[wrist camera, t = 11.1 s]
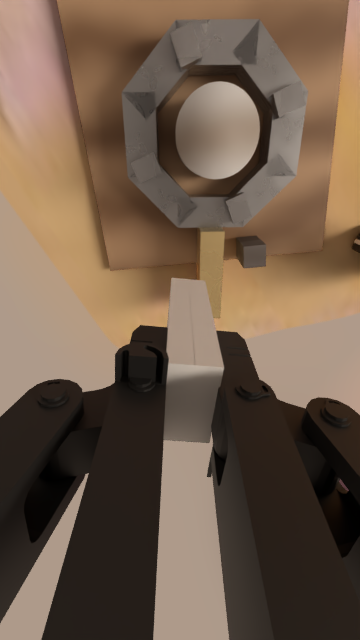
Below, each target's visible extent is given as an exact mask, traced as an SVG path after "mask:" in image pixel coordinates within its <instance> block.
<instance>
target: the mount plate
mask: <svg viewBox="0 0 360 640" xmlns="http://www.w3.org/2000/svg"><path fill="white" fill-rule="evenodd" d="M348 4H349V0H57V5H58V10H59V15H60V20H61V25H62V30H63V35H64V40H65V45H66V50H67V55H68V60H69V65H70V70H71V75H72V80H73V85H74V90H75V95H76V100H77V105H78V110H79V115H80V120H81V125H82V130H83V135H84V140H85V145H86V150H87V155H88V160H89V165H90V170H91V175H92V180H93V185H94V190H95V195H96V200H97V205H98V210H99V215H100V221H101V226H102V231H103V236H104V241H105V246H106V251H107V256H108V261H109V266H110V271H114V270H124V269H135V268H145V267H156V266H166V265H177V264H187V263H197V228H178V227H177V226H176V225H175V224H174V223H173V222H172V221H171V220H170V219H169V218H168V217H167V216H166V215H165V214H164V213H163V212H162V211H161V210H160V209H159V208H158V207H157V206H156V205H155V204H154V203H153V202H152V201H151V200H150V199H149V198H148V197H147V196H146V195H145V194H144V193H143V192H142V191H141V190H140V189H139V188H138V187H137V186H136V185H135V184H134V183H133V182H132V181H131V180H130V179H129V178H128V173H127V159H126V146H125V132H124V119H123V105H122V91H123V90H124V88H125V87H126V86H127V84H128V83H129V82H130V80H131V79H132V78H133V76H134V75H135V74H136V72H137V71H138V70H139V68H140V67H141V66H142V64H143V63H144V62H145V60H146V59H147V57H148V56H149V55H150V53H151V52H152V51H153V49H154V48H155V47H156V45H157V44H158V43H159V41H160V40H161V39H162V37H163V36H164V35H165V33H166V32H167V31H168V29H169V28H170V27H171V25H172V24H173V23H174V21H175V20H203V19H260V21H261V22H262V24H263V25H264V27H265V28H266V29H267V31H268V32H269V34H270V35H271V37H272V38H273V40H274V41H275V43H276V44H277V46H278V47H279V49H280V50H281V52H282V53H283V54H284V56H285V57H286V59H287V60H288V62H289V63H290V65H291V66H292V68H293V69H294V71H295V72H296V74H297V75H298V77H299V78H300V79H301V81H302V82H303V84H304V85H305V87H306V88H307V90H308V97H307V104H306V111H305V118H304V125H303V132H302V139H301V146H300V153H299V160H298V167H297V174H296V177H295V178H294V179H293V180H292V181H291V182H290V183H288V184H287V185H286V186H285V187H284V188H283V189H282V190H281V191H280V192H279V193H278V194H277V195H276V196H275V197H274V198H273V199H272V200H271V201H270V202H269V203H268V204H267V205H266V206H265V207H263V208H262V209H261V210H260V211H259V212H258V213H257V214H256V215H255V216H254V217H253V218H252V219H251V220H250V221H249V222H248V223H247V224H246V225H245V226H244V227H222V228H223V230H224V231H225V237H224V255H223V260H229V259H238V260H239V262H240V263H241V265H242V266H243V268H253V267H263V266H266V256H271V255H282V254H292V253H303V252H313V251H322V248H323V239H324V229H325V220H326V211H327V201H328V192H329V183H330V173H331V164H332V154H333V145H334V136H335V126H336V117H337V107H338V98H339V89H340V79H341V70H342V60H343V51H344V42H345V32H346V23H347V14H348ZM263 115H264V113H263V112H262V111H261V109H260V108H259V107H258V105H257V104H256V103H255V101H254V100H253V99H252V97H251V96H250V95H249V93H248V92H247V91H246V89H245V88H244V87H243V85H242V84H241V83H240V81H239V80H238V79H237V77H236V76H235V75H197V76H188V77H187V79H186V80H185V81H184V82H183V84H182V85H181V86H180V87H179V88H178V90H177V91H176V92H175V93H174V95H173V96H172V97H171V98H170V100H169V101H168V102H167V103H166V105H165V106H164V107H163V108H162V110H161V111H160V112H159V113H158V139H159V164H160V165H161V166H162V167H163V168H164V169H165V170H166V171H167V172H168V173H169V174H170V175H171V176H172V178H173V179H174V180H175V181H176V182H177V183H178V184H179V185H180V186H181V187H182V188H183V189H184V190H185V191H186V192H187V194H188V195H195V194H229V193H230V192H231V191H232V190H233V189H234V188H235V187H236V186H237V185H238V184H239V183H240V182H241V181H242V180H243V178H244V177H245V176H246V175H247V174H248V173H249V172H250V171H251V170H252V169H253V168H254V167H255V166H256V165H257V164H258V163H259V158H260V147H261V136H262V126H263Z"/></svg>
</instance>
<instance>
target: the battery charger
mask: <svg viewBox="0 0 360 640" xmlns="http://www.w3.org/2000/svg"><path fill="white" fill-rule="evenodd" d="M352 249H353V250H355V251H357V252H359V253H360V235H359V236H358V238H357V239H355V241H354V244H353V246H352Z"/></svg>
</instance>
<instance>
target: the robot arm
mask: <svg viewBox="0 0 360 640" xmlns="http://www.w3.org/2000/svg"><path fill="white" fill-rule="evenodd" d="M211 432H212V437H213V447H212V453H211V457H210V462H209V467H208V474H207V477H211V474H212V476H213V485H214V495H215V504H216V514H217V525H218V534H219V543H220V553H221V562H222V573H223V583H224V592H225V602H226V612H227V621H228V631H229V640H360V415H359V414H358V413H357V412H355V411H354V410H353V409H352V408H350V407H349V406H347V405H345V404H343V403H341V402H339V401H337V400H333V399H329V398H316V399H312V400H311V401H310V402H309V403H308V404H307V407H306V409H305V408H301V407H298V406H295V405H291V404H288V403H285V402H283V401H280V400H278V399H277V398H276V395H275V393H274V391H273V390H272V389H271V387H270V386H269V385H267V384H266V383H265V382H263V381H261V380H259V377H258V374H257V372H256V369H255V366H254V364H253V361H252V358H251V357H250V353H249V350H248V347H247V345H246V342H245V340H244V339H243V338H242V337H241V336H240V335H239V334H238V333H237V332H226V331H216V328H215V324H214V319H213V315H212V310H211V305H210V301H209V296H208V292H207V287H206V282H205V281H204V280H193V279H182V278H171V289H170V300H169V311H168V322H167V327H155V326H143V325H140V326H139V327H138V328H137V329H136V330H134V331H133V333H132V337H131V341H130V344H128V345H125V346H123V347H122V348H120V349H119V350H118V351H117V353H116V354H115V383H114V384H112V385H111V386H109V387H106V388H103V389H99V390H95V391H88V392H82V388H81V387H80V386H79V385H78V384H77V383H75V382H72V381H70V380H63V379H56V380H48V381H45V382H42V383H40V384H37V385H36V386H34V387H33V388H31V389H30V390H28V391H27V392H26V393H25V395H23V396H22V397H21V398H20V399H19V400H18V401H17V402H16V403H15V404H14V405H13V406H12V407H10V408H9V409H8V410H7V411H6V412H5V413H4V414H3V415H2V416H1V417H0V623H1V621H2V619H3V617H4V616H5V614H6V612H7V610H8V609H9V607H10V605H11V603H12V602H13V600H14V598H15V597H16V595H17V593H18V591H19V590H20V588H21V586H22V584H23V583H24V581H25V579H26V578H27V576H28V574H29V572H30V571H31V569H32V567H33V566H34V564H35V562H36V560H37V559H38V557H39V555H40V553H41V552H42V550H43V548H44V547H45V545H46V543H47V541H48V540H49V538H50V536H51V534H52V533H53V531H54V529H55V527H56V526H57V524H58V522H59V521H60V519H61V517H62V515H63V514H64V512H65V510H66V508H67V507H68V505H69V503H70V501H71V500H72V498H73V496H74V495H75V493H76V491H77V490H78V488H79V486H80V484H81V483H82V481H83V479H84V477H85V474H87V473H89V475H88V478H87V482H86V485H85V489H84V492H83V496H82V499H81V503H80V506H79V510H78V513H77V517H76V520H75V524H74V528H73V531H72V534H71V538H70V541H69V545H68V548H67V552H66V555H65V559H64V563H63V566H62V569H61V573H60V576H59V580H58V583H57V587H56V591H55V594H54V597H53V601H52V604H51V608H50V612H49V615H48V619H47V622H46V626H45V630H44V633H43V636H42V640H153V630H154V611H155V591H156V571H157V554H158V533H159V515H160V496H161V476H162V475H161V474H162V457H163V440H172V441H187V442H202V443H209V442H210V437H211ZM340 479H341V480H342V481H343V483H344V484H345V486H346V487H347V488H348V489H349V491H347V490H345V489H344V488H343V487H342V485H341V484H340V483H339V480H340Z"/></svg>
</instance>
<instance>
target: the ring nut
mask: <svg viewBox="0 0 360 640" xmlns="http://www.w3.org/2000/svg"><path fill="white" fill-rule="evenodd" d="M197 75H235V76H236V77H237V79H238V80H239V81H240V83H241V84H242V85H243V87H244V88H245V89H246V91H247V92H248V93H249V95H250V96H251V97H252V99H253V100H254V101H255V103H256V104H257V105H258V107H259V108H260V109H261V111H262V112H263V113H264V115H263V126H262V136H261V147H260V158H259V163H258V164H257V165H256V166H255V167H254V168H253V169H252V170H251V171H250V172H249V173H248V174H247V175H246V176H245V177H244V178H243V180H242V181H241V182H240V183H239V184H238V185H237V186H236V187H235V188H234V189H233V190H232V191H231V192H230V193H229V194H195V195H188V194H187V192H186V191H185V190H184V189H183V188H182V187H181V186H180V185H179V184H178V183H177V182H176V181H175V180H174V179H173V178H172V176H171V175H170V174H169V173H168V172H167V171H166V170H165V169H164V168H163V167H162V166H161V165H160V164H159V139H158V113H159V112H160V111H161V110H162V108H163V107H164V106H165V105H166V103H167V102H168V101H169V100H170V98H171V97H172V96H173V95H174V93H175V92H176V91H177V90H178V88H179V87H180V86H181V85H182V84H183V82H184V81H185V80H186V79H187V77H188V76H197ZM307 97H308V90H307V88H306V87H305V85H304V84H303V82H302V81H301V79H300V78H299V77H298V75H297V74H296V72H295V71H294V69H293V68H292V66H291V65H290V63H289V62H288V60H287V59H286V57H285V56H284V54H283V53H282V52H281V50H280V49H279V47H278V46H277V44H276V43H275V41H274V40H273V38H272V37H271V35H270V34H269V32H268V31H267V29H266V28H265V27H264V25H263V24H262V22H261V21H260V19H203V20H175V21H174V23H173V24H172V25H171V27H170V28H169V29H168V31H167V32H166V33H165V35H164V36H163V37H162V39H161V40H160V41H159V43H158V44H157V45H156V47H155V48H154V49H153V51H152V52H151V53H150V55H149V56H148V57H147V59H146V60H145V62H144V63H143V64H142V66H141V67H140V68H139V70H138V71H137V72H136V74H135V75H134V76H133V78H132V79H131V80H130V82H129V83H128V84H127V86H126V87H125V88H124V90H123V91H122V105H123V119H124V132H125V146H126V159H127V173H128V178H129V179H130V180H131V181H132V182H133V183H134V184H135V185H136V186H137V187H138V188H139V189H140V190H141V191H142V192H143V193H144V194H145V195H146V196H147V197H148V198H149V199H150V200H151V201H152V202H153V203H154V204H155V205H156V206H157V207H158V208H159V209H160V210H161V211H162V212H163V213H164V214H165V215H166V216H167V217H168V218H169V219H170V220H171V221H172V222H173V223H174V224H175V225H176V226H177V227H178V228H197V266H196V280H204V281H205V282H206V287H207V292H208V296H209V301H210V305H211V310H212V315H213V318H220V311H221V292H222V274H223V255H224V237H225V231H224V230H223V228H222V227H244V226H245V225H246V224H247V223H248V222H249V221H250V220H251V219H252V218H253V217H254V216H255V215H256V214H257V213H258V212H259V211H260V210H261V209H262V208H263V207H265V206H266V205H267V204H268V203H269V202H270V201H271V200H272V199H273V198H274V197H275V196H276V195H277V194H278V193H279V192H280V191H281V190H282V189H283V188H284V187H285V186H286V185H287V184H288V183H290V182H291V181H292V180H293V179H294V178H295V177H296V174H297V167H298V160H299V153H300V146H301V139H302V132H303V125H304V118H305V111H306V104H307Z"/></svg>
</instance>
